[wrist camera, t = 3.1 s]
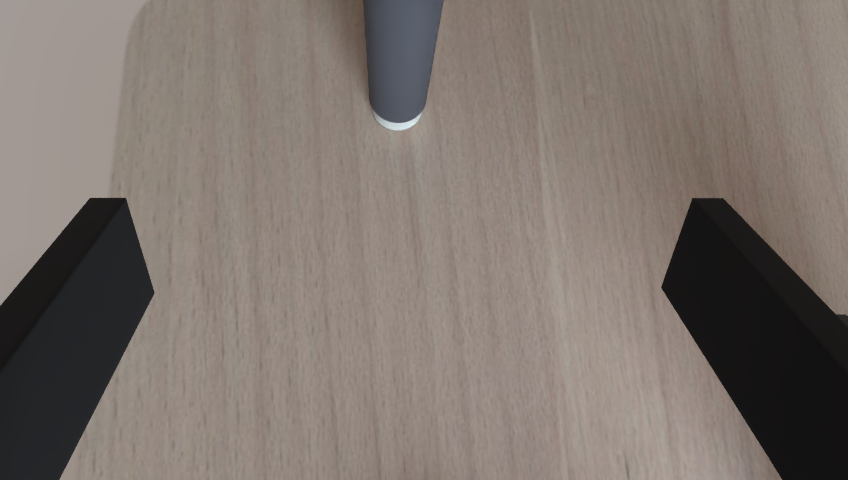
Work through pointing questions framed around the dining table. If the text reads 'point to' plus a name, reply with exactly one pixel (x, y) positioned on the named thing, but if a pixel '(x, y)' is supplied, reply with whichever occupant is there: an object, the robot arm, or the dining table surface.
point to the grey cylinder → (400, 57)
